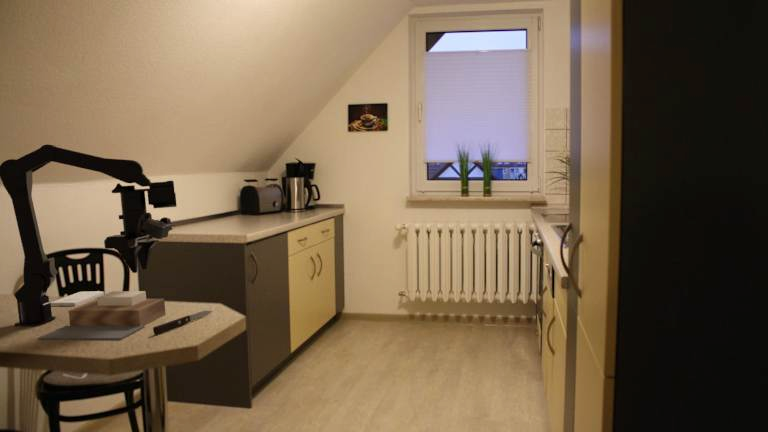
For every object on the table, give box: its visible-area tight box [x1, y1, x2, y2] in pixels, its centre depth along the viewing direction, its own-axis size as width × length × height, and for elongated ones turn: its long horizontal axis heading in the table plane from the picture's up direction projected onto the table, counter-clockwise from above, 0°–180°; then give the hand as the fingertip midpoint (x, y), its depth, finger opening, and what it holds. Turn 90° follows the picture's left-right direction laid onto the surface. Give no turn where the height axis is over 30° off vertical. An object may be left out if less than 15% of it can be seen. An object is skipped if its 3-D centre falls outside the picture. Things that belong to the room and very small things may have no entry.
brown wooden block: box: [68, 298, 166, 327], centre depth 148 cm, size 18×11×4 cm, turn 80°
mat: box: [38, 325, 145, 341], centre depth 138 cm, size 20×9×1 cm, turn 80°
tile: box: [96, 290, 147, 306], centre depth 150 cm, size 9×6×2 cm, turn 80°
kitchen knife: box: [152, 310, 213, 336], centre depth 142 cm, size 18×1×2 cm, turn 153°
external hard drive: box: [50, 290, 105, 307], centre depth 173 cm, size 2×8×12 cm
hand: (139, 270), depth 157 cm, fingers open, 4 cm apart
